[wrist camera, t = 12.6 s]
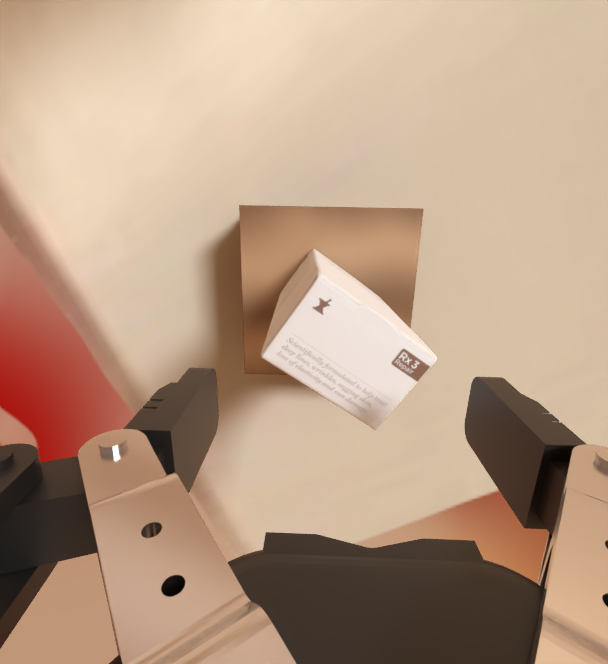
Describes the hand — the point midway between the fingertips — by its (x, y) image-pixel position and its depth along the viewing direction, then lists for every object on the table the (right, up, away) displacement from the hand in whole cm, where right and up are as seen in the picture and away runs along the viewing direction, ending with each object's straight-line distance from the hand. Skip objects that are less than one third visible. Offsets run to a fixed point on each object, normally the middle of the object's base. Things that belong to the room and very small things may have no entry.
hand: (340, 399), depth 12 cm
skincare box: (+1, +5, +15) cm, 15 cm away
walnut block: (+1, +6, +19) cm, 20 cm away
